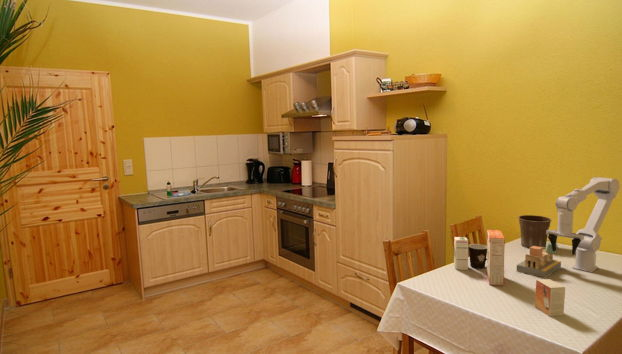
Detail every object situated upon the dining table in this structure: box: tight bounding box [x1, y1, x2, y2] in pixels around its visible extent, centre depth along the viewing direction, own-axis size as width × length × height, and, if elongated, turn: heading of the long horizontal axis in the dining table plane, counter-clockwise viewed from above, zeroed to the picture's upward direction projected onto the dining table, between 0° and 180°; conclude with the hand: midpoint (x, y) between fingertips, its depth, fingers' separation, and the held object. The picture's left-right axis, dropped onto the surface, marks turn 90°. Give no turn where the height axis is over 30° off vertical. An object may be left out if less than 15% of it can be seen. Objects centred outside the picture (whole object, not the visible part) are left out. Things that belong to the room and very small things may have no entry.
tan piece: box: [524, 247, 554, 269], centre depth 185 cm, size 18×6×6 cm, turn 131°
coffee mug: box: [468, 243, 487, 270], centre depth 190 cm, size 12×9×10 cm
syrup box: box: [453, 236, 469, 271], centre depth 189 cm, size 6×6×14 cm
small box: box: [534, 278, 566, 317], centre depth 143 cm, size 8×6×10 cm
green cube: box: [546, 241, 559, 255], centre depth 187 cm, size 4×4×4 cm
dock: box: [516, 259, 562, 278], centre depth 186 cm, size 20×12×3 cm, turn 131°
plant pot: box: [518, 214, 552, 249], centre depth 222 cm, size 16×16×16 cm
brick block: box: [529, 246, 543, 258], centre depth 182 cm, size 4×4×4 cm
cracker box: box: [486, 229, 506, 287], centre depth 173 cm, size 14×6×21 cm, turn 160°
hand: (563, 252), depth 180 cm, fingers open, 7 cm apart
